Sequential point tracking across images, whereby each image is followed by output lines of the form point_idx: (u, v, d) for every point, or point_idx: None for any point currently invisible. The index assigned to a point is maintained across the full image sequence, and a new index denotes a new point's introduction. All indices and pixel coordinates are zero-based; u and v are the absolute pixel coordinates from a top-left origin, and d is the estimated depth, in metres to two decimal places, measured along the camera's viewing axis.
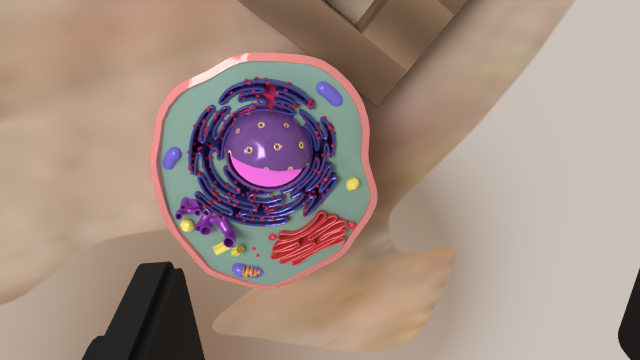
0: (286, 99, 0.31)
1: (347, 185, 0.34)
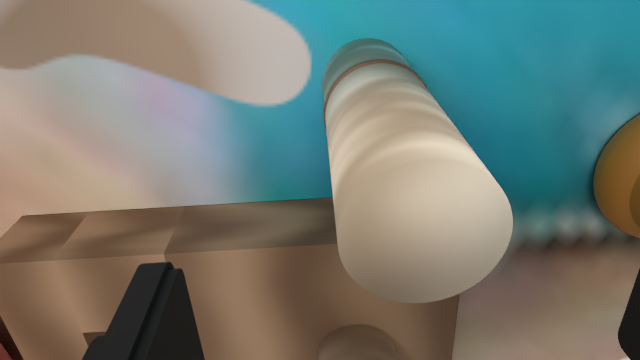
0: None
1: None
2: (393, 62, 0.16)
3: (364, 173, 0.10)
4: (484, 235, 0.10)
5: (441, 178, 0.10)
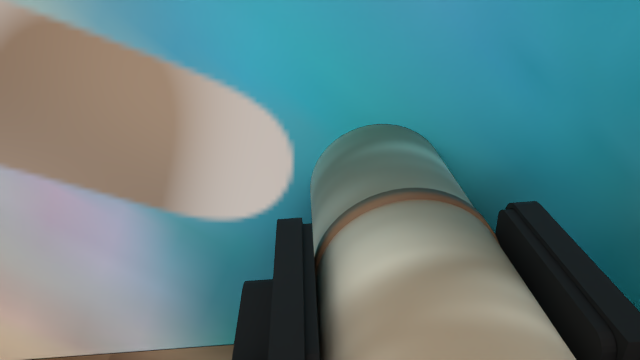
0: None
1: None
2: (437, 196, 0.09)
3: None
4: None
5: None
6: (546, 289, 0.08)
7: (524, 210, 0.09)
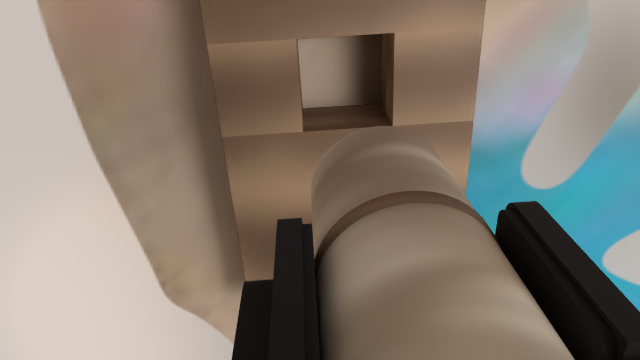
0: None
1: None
2: (438, 199, 0.09)
3: None
4: None
5: None
6: (546, 289, 0.08)
7: (524, 210, 0.09)
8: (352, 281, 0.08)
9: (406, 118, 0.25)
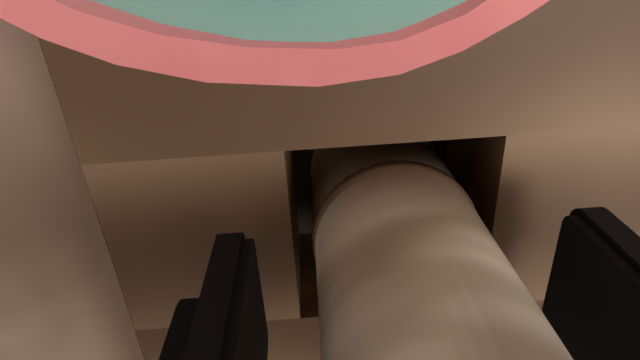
0: None
1: None
2: (421, 167, 0.10)
3: None
4: None
5: None
6: (628, 299, 0.08)
7: (593, 216, 0.09)
8: (345, 232, 0.09)
9: None
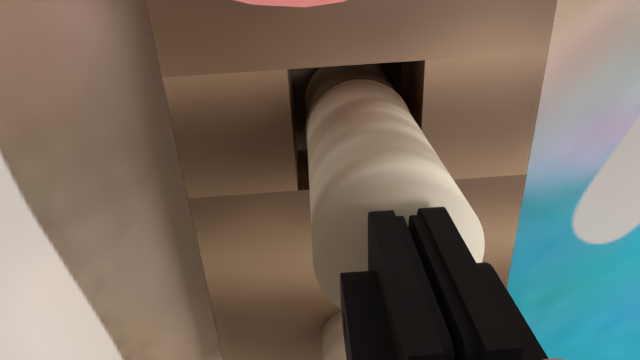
0: None
1: None
2: (373, 81, 0.17)
3: (338, 195, 0.10)
4: None
5: (413, 200, 0.10)
6: (435, 295, 0.08)
7: (430, 215, 0.09)
8: (324, 112, 0.15)
9: None
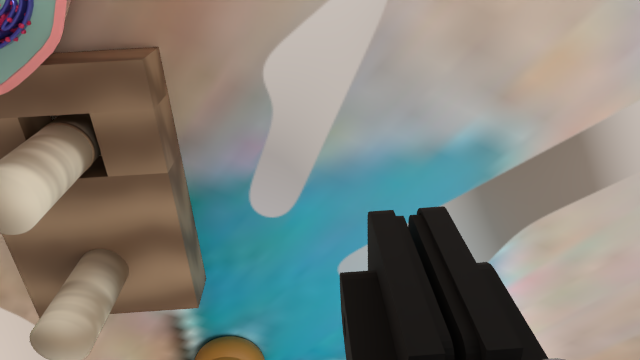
0: None
1: None
2: (64, 123, 0.32)
3: None
4: (26, 205, 0.26)
5: None
6: (435, 295, 0.08)
7: (430, 216, 0.09)
8: None
9: (116, 171, 0.34)
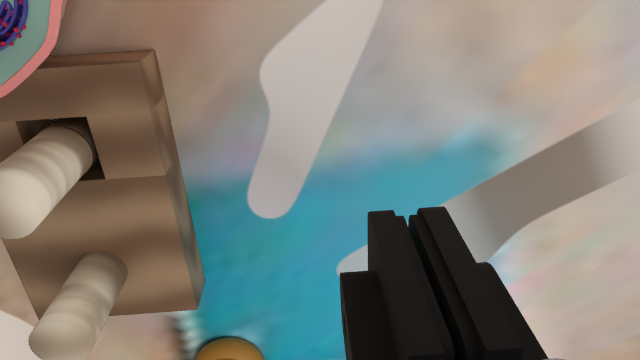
0: None
1: None
2: (62, 127, 0.32)
3: None
4: (26, 209, 0.26)
5: None
6: (435, 295, 0.08)
7: (430, 216, 0.09)
8: None
9: (114, 174, 0.34)
